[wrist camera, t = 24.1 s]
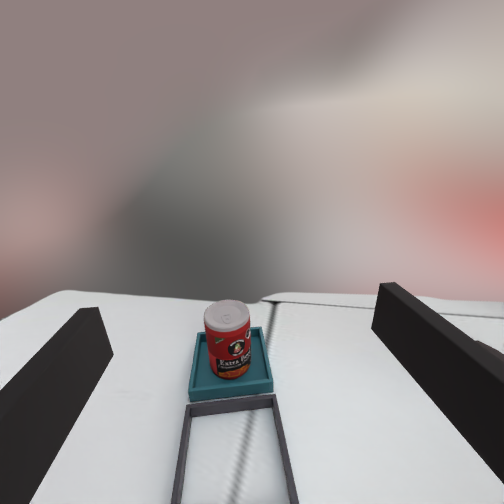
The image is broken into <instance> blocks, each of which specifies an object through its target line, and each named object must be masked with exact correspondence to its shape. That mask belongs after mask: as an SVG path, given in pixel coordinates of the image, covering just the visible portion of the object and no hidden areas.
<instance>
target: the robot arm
mask: <svg viewBox="0 0 504 504" xmlns="http://www.w3.org/2000/svg"><path fill="white" fill-rule="evenodd" d="M371 329H372V330H373V332H374V333H375V334H376V335H377V336H378V337H379V339H380V340H381V341H382V342H383V343H384V344H385V346H386V347H387V348H388V349H389V350H390V352H391V353H392V354H393V355H394V356H395V357H396V359H397V360H398V361H399V362H400V363H401V364H402V366H403V367H404V368H405V369H406V370H407V371H408V373H409V374H410V375H411V376H412V377H413V378H414V380H415V381H416V382H417V383H418V384H419V385H420V387H421V388H422V389H423V390H424V391H425V392H426V394H427V395H428V396H429V397H430V398H431V400H432V401H433V402H434V403H435V404H436V405H437V407H438V408H439V409H440V410H441V411H442V412H443V414H444V415H445V416H446V417H447V418H448V419H449V421H450V422H451V423H452V424H453V425H454V426H455V428H456V429H457V430H458V431H459V432H460V433H461V435H462V436H463V437H464V438H465V439H466V440H467V442H468V443H469V444H470V445H471V446H472V447H473V449H474V450H475V451H476V452H477V453H478V455H479V456H480V457H481V458H482V459H483V460H484V462H485V463H486V464H487V465H488V466H489V467H490V469H491V470H492V471H493V472H494V473H495V474H496V476H497V477H498V478H499V479H500V480H501V481H502V483H503V484H504V354H502V353H501V352H499V351H498V350H496V349H494V348H492V347H490V346H488V345H486V344H484V343H482V342H480V341H474V340H473V339H472V338H470V337H469V336H468V335H466V334H465V333H464V332H462V331H461V330H459V329H458V328H457V327H455V326H454V325H453V324H451V323H450V322H449V321H447V320H446V319H444V318H443V317H442V316H440V315H439V314H438V313H436V312H435V311H434V310H432V309H431V308H429V307H428V306H427V305H425V304H424V303H423V302H421V301H420V300H418V299H417V298H416V297H414V296H413V295H412V294H410V293H409V292H407V291H406V290H405V289H403V288H402V287H401V286H399V285H398V284H397V283H395V282H391V283H380V286H379V291H378V296H377V301H376V306H375V312H374V317H373V322H372V327H371ZM113 355H114V354H113V351H112V348H111V345H110V342H109V339H108V336H107V333H106V329H105V326H104V323H103V320H102V317H101V314H100V311H99V308H98V307H90V308H80V309H79V310H78V311H77V312H76V313H75V314H74V315H73V316H72V317H71V318H70V319H69V320H68V321H67V322H66V323H65V324H64V325H63V326H62V327H61V328H60V329H59V330H58V331H57V332H56V333H55V335H54V336H53V337H52V338H51V339H50V340H49V341H48V342H47V343H46V344H45V345H44V346H43V347H42V348H41V349H40V350H39V351H38V352H37V353H36V354H35V355H34V356H33V357H32V358H31V359H30V360H29V361H28V362H27V363H26V364H25V365H24V367H23V368H22V369H21V370H20V371H19V372H18V373H17V374H16V375H15V376H14V377H13V378H12V379H11V380H10V381H9V382H8V383H7V384H6V385H5V386H4V387H3V388H2V389H1V390H0V504H29V503H30V501H31V499H32V498H33V496H34V494H35V492H36V491H37V489H38V487H39V485H40V484H41V482H42V480H43V478H44V477H45V475H46V473H47V471H48V470H49V468H50V466H51V464H52V463H53V461H54V459H55V457H56V455H57V454H58V452H59V450H60V448H61V447H62V445H63V443H64V441H65V440H66V438H67V436H68V434H69V433H70V431H71V429H72V427H73V426H74V424H75V422H76V420H77V418H78V417H79V415H80V413H81V411H82V410H83V408H84V406H85V404H86V403H87V401H88V399H89V397H90V396H91V394H92V392H93V390H94V389H95V387H96V385H97V383H98V381H99V380H100V378H101V376H102V374H103V373H104V371H105V369H106V367H107V366H108V364H109V362H110V360H111V359H112V357H113Z"/></svg>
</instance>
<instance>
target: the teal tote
mask: <svg viewBox="0 0 504 504" xmlns="http://www.w3.org/2000/svg"><path fill="white" fill-rule="evenodd" d="M250 332H251V363H250V366H249V369H248V370H247V372H246V373H245V374H243V375H242V376H240V377H238V378H236V379H223V378H220V377H218V376H217V375H216V374H215V373H214V372H213V370H212V369H211V366H210V361H209V354H208V347H207V339H206V332H199V333H197V339H196V345H195V351H194V357H193V364H192V370H191V376H190V382H189V389H188V394H189V399H190V402H194V401H203V400H211V399H219V398H228V397H236V396H244V395H253V394H261V393H269V392H273V378H272V374H271V369H270V364H269V360H268V355H267V350H266V346H265V341H264V336H263V332H262V327H251V328H250Z"/></svg>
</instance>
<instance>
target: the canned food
mask: <svg viewBox="0 0 504 504" xmlns="http://www.w3.org/2000/svg"><path fill="white" fill-rule="evenodd" d="M204 325H205V332H206V339H207V347H208V354H209V361H210V366H211V369H212V370H213V372H214V373H215V374H216V375H217V376H218V377H220V378H223V379H236V378H238V377H240V376H242V375H243V374H245V373H246V372H247V370H248V369H249V366H250V363H251V332H250V314H249V309H248V307H247V306H246V305H245V304H244V303H242V302H240V301H236V300H222V301H218V302H216V303H213V304H212V305H210V306H209V307H208V308H207V309H206V311H205V313H204Z"/></svg>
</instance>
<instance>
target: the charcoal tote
mask: <svg viewBox="0 0 504 504" xmlns="http://www.w3.org/2000/svg"><path fill="white" fill-rule="evenodd" d="M268 407H273V413H274V418H275V423H276V429H277V434H278V439H279V444H280V450H281V455H282V460H283V466H284V471H285V476H286V481H287V487H288V492H289V497H290V503H291V504H299V502H298V497H297V492H296V487H295V483H294V478H293V473H292V469H291V464H290V459H289V455H288V450H287V445H286V441H285V436H284V431H283V426H282V422H281V417H280V412H279V408H278V403H277V398H276V394H272V395H263V396H254V397H246V398H238V399H230V400H221V401H213V402H205V403H196V404H191V405H190V404H188V405H186V411H185V417H184V423H183V430H182V436H181V442H180V449H179V455H178V461H177V468H176V474H175V480H174V487H173V493H172V500H171V504H180V503H181V495H182V488H183V480H184V472H185V465H186V457H187V449H188V441H189V434H190V426H191V418H192V417H196V416H204V415H212V414H220V413H228V412H236V411H244V410H252V409H260V408H268Z"/></svg>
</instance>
